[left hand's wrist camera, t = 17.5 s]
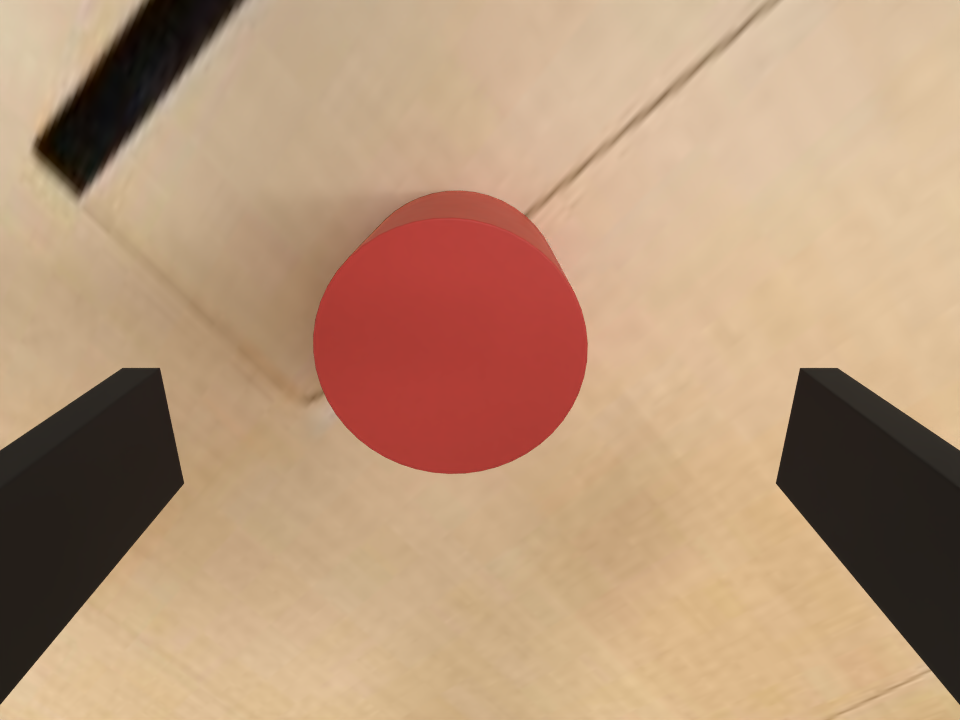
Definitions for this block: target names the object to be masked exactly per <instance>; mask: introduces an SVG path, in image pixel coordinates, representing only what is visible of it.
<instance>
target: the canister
mask: <svg viewBox="0 0 960 720" xmlns="http://www.w3.org/2000/svg"><path fill="white" fill-rule="evenodd" d="M587 347H588V343H587V333H586V326H585V322H584V318H583V314H582V310H581V307H580V305H579V302H578V300H577V298H576V295H575V293H574V291H573V289H572V287H571V285H570V284H569V282H568V280H567V278H566V276H565V274H564V272H563V271H562V269H561V267H560V265H559V263H558V261H557V259H556V258H555V256H554V254H553V252H552V250H551V248H550V247H549V245H548V243H547V241H546V240H545V238H544V236H543V235H542V234H541V232H540V231H539V230H538V228H537V227H536V226H535V225H534V224H533V223H532V222H531V221H530V220H529V219H528V218H527V217H526V216H525V215H524V214H522V213H521V212H519V211H518V210H517V209H515V208H514V207H512V206H511V205H509V204H507V203H505V202H503V201H501V200H499V199H496V198H494V197H491V196H488V195H484V194H480V193H476V192H468V191H445V192H439V193H433V194H430V195H426V196H423V197H420V198H418V199H415V200H413V201H411V202H409V203H407V204H405V205H404V206H402V207H401V208H399V209H398V210H396V211H395V212H394V213H392V214H391V215H390V216H389V217H388V218H387V219H386V220H384V221H383V222H382V224H381V225H380V226H379V227H378V228H377V229H376V230H375V231H374V232H373V233H372V234H371V235H370V236H369V237H368V238H367V239H366V240H365V241H364V242H363V243H362V244H361V245H360V246H359V247H358V248H357V249H356V250H355V251H354V253H353V254H352V255H351V256H350V257H349V258H348V259H347V260H346V261H345V262H344V264H343V265H342V266H341V267H340V268H339V269H338V271H337V272H336V273H335V275H334V277H333V278H332V280H331V281H330V283H329V284H328V286H327V288H326V291H325V293H324V295H323V297H322V299H321V302H320V305H319V308H318V312H317V315H316V320H315V327H314V334H313V352H314V359H315V366H316V371H317V374H318V378H319V381H320V384H321V387H322V389H323V391H324V394H325V396H326V398H327V400H328V402H329V404H330V405H331V407H332V409H333V410H334V412H335V413H336V415H337V416H338V417H339V419H340V420H341V421H342V422H343V424H344V425H345V426H346V427H347V428H348V429H349V430H350V431H351V432H352V433H353V434H354V435H355V436H356V437H357V438H358V439H359V440H360V441H362V442H363V443H364V444H366V445H367V446H368V447H369V448H371V449H372V450H374V451H376V452H377V453H379V454H381V455H382V456H384V457H386V458H388V459H390V460H392V461H395V462H397V463H399V464H402V465H405V466H408V467H411V468H414V469H418V470H423V471H428V472H434V473H446V474H458V473H471V472H478V471H483V470H487V469H491V468H495V467H498V466H501V465H503V464H506V463H509V462H511V461H513V460H515V459H517V458H519V457H521V456H523V455H525V454H527V453H528V452H530V451H531V450H532V449H534V448H535V447H537V446H538V445H540V444H541V443H542V442H543V441H544V440H545V439H546V438H547V437H549V436H550V435H551V434H552V433H553V432H554V431H555V429H556V428H557V427H558V426H559V425H560V424H561V422H562V421H563V420H564V418H565V417H566V415H567V414H568V412H569V411H570V409H571V408H572V406H573V404H574V402H575V400H576V398H577V396H578V394H579V391H580V388H581V385H582V382H583V379H584V375H585V369H586V363H587Z"/></svg>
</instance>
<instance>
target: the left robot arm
mask: <svg viewBox="0 0 960 720" xmlns="http://www.w3.org/2000/svg"><path fill="white" fill-rule="evenodd" d="M183 484H184V481H183V476H182V471H181V466H180V462H179V457H178V452H177V447H176V443H175V438H174V433H173V428H172V424H171V419H170V414H169V409H168V404H167V400H166V395H165V390H164V385H163V381H162V376H161V371H160V368H122V369H120V370H119V371H118V372H116V373H115V374H113V375H112V376H110V377H109V378H107V379H106V380H104V381H103V382H101V383H100V384H98V385H97V386H95V387H94V388H92V389H91V390H89V391H88V392H86V393H85V394H83V395H82V396H80V397H79V398H77V399H76V400H75V401H73V402H72V403H70V404H69V405H67V406H66V407H64V408H63V409H61V410H60V411H58V412H57V413H55V414H54V415H52V416H51V417H49V418H48V419H46V420H45V421H43V422H42V423H40V424H39V425H37V426H36V427H34V428H33V429H32V430H30V431H29V432H27V433H26V434H24V435H23V436H21V437H20V438H18V439H17V440H15V441H14V442H12V443H11V444H9V445H8V446H6V447H5V448H3V449H2V450H0V704H1V703H2V702H3V701H4V700H5V698H6V697H7V696H8V695H9V694H10V692H11V691H12V690H13V689H14V687H15V686H16V685H17V684H18V683H19V681H20V680H21V679H22V678H23V677H24V675H25V674H26V673H27V672H28V671H29V669H30V668H31V667H32V666H33V665H34V663H35V662H36V661H37V660H38V659H39V657H40V656H41V655H42V654H43V653H44V651H45V650H46V649H47V648H48V647H49V645H50V644H51V643H52V642H53V641H54V639H55V638H56V637H57V636H58V635H59V633H60V632H61V631H62V630H63V629H64V627H65V626H66V625H67V624H68V622H69V621H70V620H71V619H72V618H73V616H74V615H75V614H76V613H77V612H78V610H79V609H80V608H81V607H82V606H83V604H84V603H85V602H86V601H87V600H88V598H89V597H90V596H91V595H92V594H93V592H94V591H95V590H96V589H97V588H98V586H99V585H100V584H101V583H102V582H103V580H104V579H105V578H106V577H107V576H108V574H109V573H110V572H111V571H112V570H113V568H114V567H115V566H116V565H117V563H118V562H119V561H120V560H121V559H122V557H123V556H124V555H125V554H126V553H127V551H128V550H129V549H130V548H131V547H132V545H133V544H134V543H135V542H136V541H137V539H138V538H139V537H140V536H141V535H142V533H143V532H144V531H145V530H146V529H147V527H148V526H149V525H150V524H151V523H152V521H153V520H154V519H155V518H156V517H157V515H158V514H159V513H160V512H161V511H162V509H163V508H164V507H165V506H166V504H167V503H168V502H169V501H170V500H171V498H172V497H173V496H174V495H175V494H176V492H177V491H178V490H179V489H180V488H181V486H182V485H183ZM776 484H777V485H778V486H779V488H780V489H781V490H782V491H783V492H784V494H785V495H786V496H787V497H788V498H789V500H790V501H791V502H792V503H793V504H794V506H795V507H796V508H797V509H798V511H799V512H800V513H801V514H802V515H803V517H804V518H805V519H806V520H807V521H808V523H809V524H810V525H811V526H812V527H813V529H814V530H815V531H816V532H817V533H818V535H819V536H820V537H821V538H822V539H823V541H824V542H825V543H826V544H827V545H828V547H829V548H830V549H831V550H832V551H833V553H834V554H835V555H836V556H837V557H838V559H839V560H840V561H841V562H842V563H843V565H844V566H845V567H846V568H847V570H848V571H849V572H850V573H851V574H852V576H853V577H854V578H855V579H856V580H857V582H858V583H859V584H860V585H861V586H862V588H863V589H864V590H865V591H866V592H867V594H868V595H869V596H870V597H871V598H872V600H873V601H874V602H875V603H876V604H877V606H878V607H879V608H880V609H881V610H882V612H883V613H884V614H885V615H886V616H887V618H888V619H889V620H890V621H891V622H892V624H893V625H894V626H895V627H896V629H897V630H898V631H899V632H900V633H901V635H902V636H903V637H904V638H905V639H906V641H907V642H908V643H909V644H910V645H911V647H912V648H913V649H914V650H915V651H916V653H917V654H918V655H919V656H920V657H921V659H922V660H923V661H924V662H925V663H926V665H927V666H928V667H929V668H930V669H931V671H932V672H933V673H934V674H935V675H936V677H937V678H938V679H939V680H940V681H941V683H942V684H943V685H944V686H945V688H946V689H947V690H948V691H949V692H950V694H951V695H952V696H953V697H954V698H955V700H956V701H957V702H958V703H959V704H960V450H958V449H957V448H955V447H954V446H952V445H951V444H949V443H948V442H946V441H945V440H943V439H942V438H940V437H939V436H937V435H936V434H934V433H933V432H931V431H930V430H928V429H927V428H926V427H924V426H923V425H921V424H920V423H918V422H917V421H915V420H914V419H912V418H911V417H909V416H908V415H906V414H905V413H903V412H902V411H900V410H899V409H897V408H896V407H894V406H893V405H891V404H890V403H888V402H887V401H885V400H884V399H883V398H881V397H880V396H878V395H877V394H875V393H874V392H872V391H871V390H869V389H868V388H866V387H865V386H863V385H862V384H860V383H859V382H857V381H856V380H854V379H853V378H851V377H850V376H848V375H847V374H845V373H844V372H842V371H841V370H840V369H838V368H800V371H799V376H798V381H797V385H796V390H795V395H794V400H793V404H792V409H791V414H790V419H789V424H788V428H787V433H786V438H785V443H784V447H783V452H782V457H781V462H780V466H779V471H778V476H777V481H776Z"/></svg>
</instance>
